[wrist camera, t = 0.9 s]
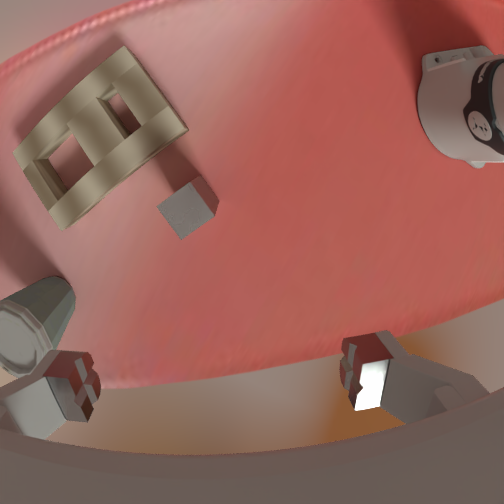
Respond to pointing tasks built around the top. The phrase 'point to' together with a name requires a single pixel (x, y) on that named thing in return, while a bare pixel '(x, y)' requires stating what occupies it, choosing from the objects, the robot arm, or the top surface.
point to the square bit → (190, 207)
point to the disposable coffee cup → (33, 323)
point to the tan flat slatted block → (99, 136)
